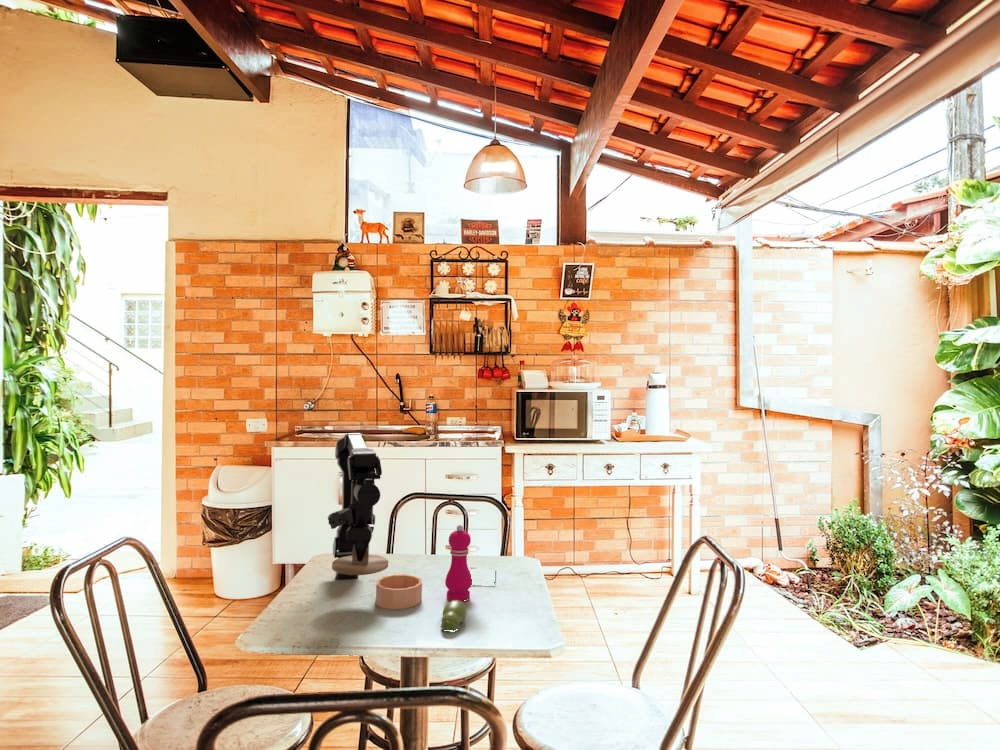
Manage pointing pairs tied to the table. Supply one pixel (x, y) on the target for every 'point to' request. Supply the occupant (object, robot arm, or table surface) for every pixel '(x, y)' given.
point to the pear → (453, 615)
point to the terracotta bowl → (398, 591)
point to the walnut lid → (359, 564)
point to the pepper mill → (459, 566)
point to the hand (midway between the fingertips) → (360, 558)
